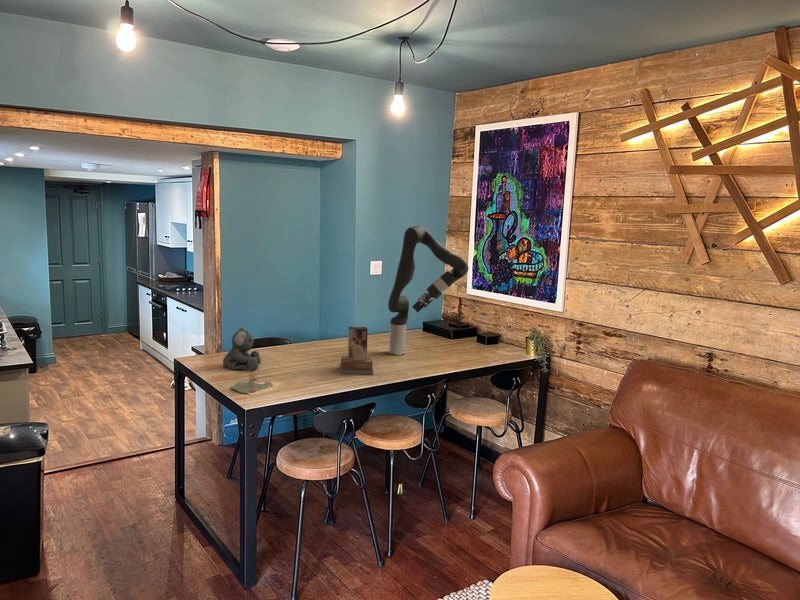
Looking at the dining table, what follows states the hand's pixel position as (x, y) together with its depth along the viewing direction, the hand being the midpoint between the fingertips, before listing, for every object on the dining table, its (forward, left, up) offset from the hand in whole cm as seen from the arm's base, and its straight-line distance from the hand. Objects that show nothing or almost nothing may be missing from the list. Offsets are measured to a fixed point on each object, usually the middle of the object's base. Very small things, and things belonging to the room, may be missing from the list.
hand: (414, 309), depth 309 cm
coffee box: (+8, -29, -25) cm, 39 cm away
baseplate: (+8, -30, -31) cm, 43 cm away
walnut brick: (+8, -30, -29) cm, 42 cm away
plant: (+37, -75, -31) cm, 89 cm away
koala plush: (+3, -87, -31) cm, 92 cm away
